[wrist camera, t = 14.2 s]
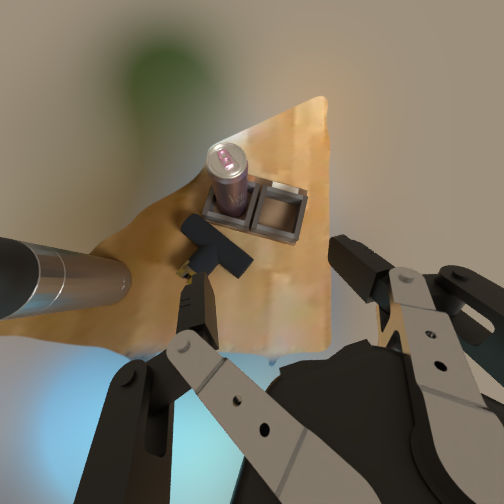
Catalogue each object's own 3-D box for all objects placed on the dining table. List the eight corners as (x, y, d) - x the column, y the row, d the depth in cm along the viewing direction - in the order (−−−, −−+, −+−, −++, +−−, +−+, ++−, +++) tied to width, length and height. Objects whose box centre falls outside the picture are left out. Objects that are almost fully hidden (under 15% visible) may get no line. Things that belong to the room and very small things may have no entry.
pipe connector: (214, 306, 33) (152, 253, 34) (218, 304, 38) (164, 258, 39) (254, 257, 35) (195, 209, 36) (253, 261, 40) (201, 219, 41)
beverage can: (239, 189, 41) (236, 135, 26) (251, 211, 40) (255, 168, 26) (214, 200, 40) (197, 151, 26) (226, 223, 40) (216, 186, 25)
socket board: (204, 221, 41) (200, 214, 36) (221, 170, 43) (219, 158, 39) (293, 245, 41) (299, 241, 36) (305, 193, 43) (312, 183, 39)
